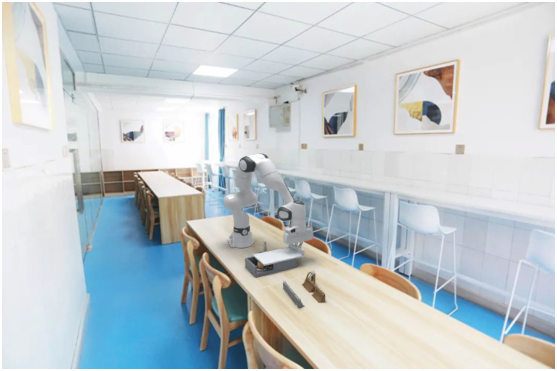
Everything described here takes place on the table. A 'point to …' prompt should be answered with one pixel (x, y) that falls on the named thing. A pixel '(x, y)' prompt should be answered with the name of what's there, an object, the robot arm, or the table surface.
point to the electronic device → (260, 252)
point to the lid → (279, 255)
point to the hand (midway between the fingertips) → (298, 248)
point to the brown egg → (260, 266)
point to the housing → (252, 266)
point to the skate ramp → (310, 287)
